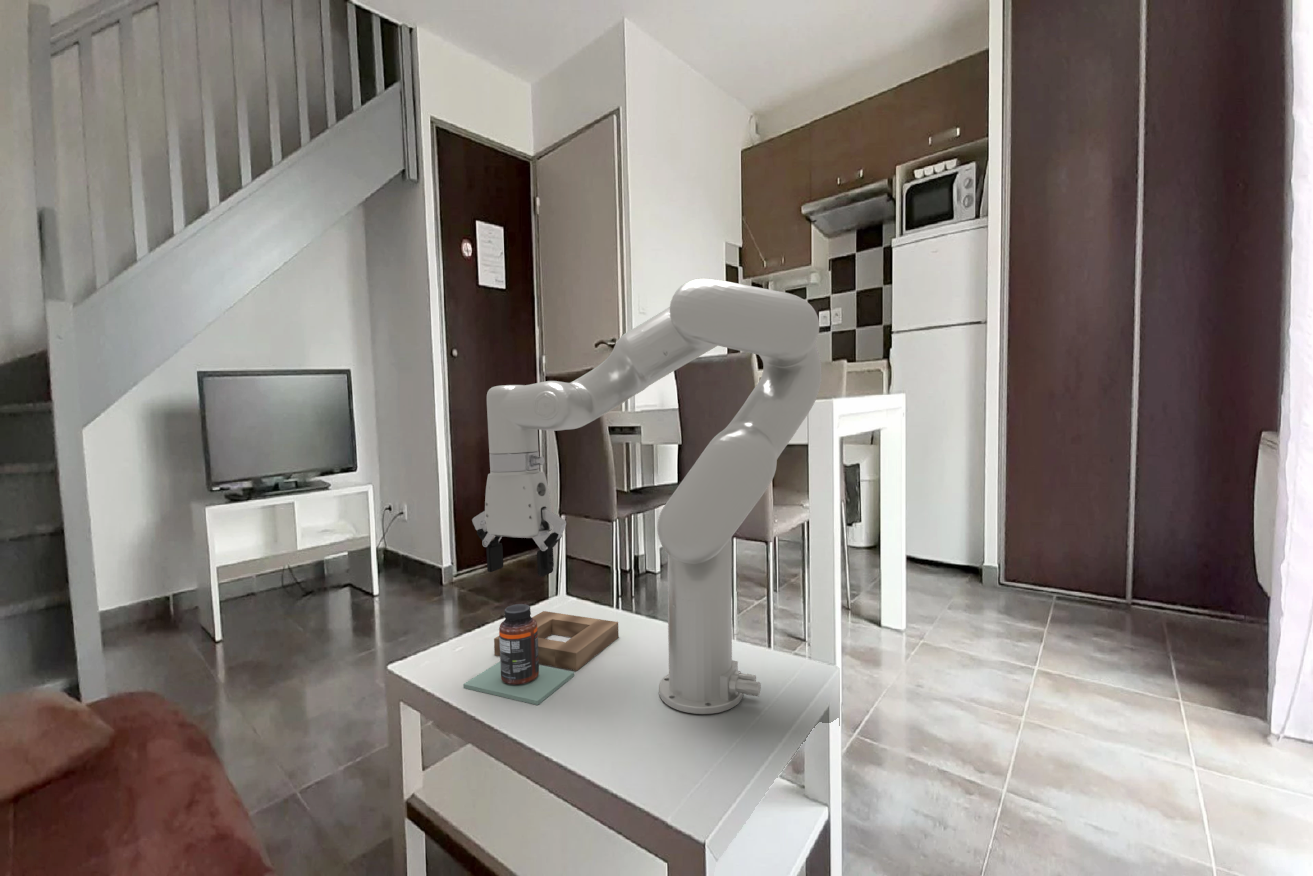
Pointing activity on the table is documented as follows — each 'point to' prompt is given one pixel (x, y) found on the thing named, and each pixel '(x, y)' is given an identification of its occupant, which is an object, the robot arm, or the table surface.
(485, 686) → the sage green mat
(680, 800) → the table surface
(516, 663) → the supplement bottle
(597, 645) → the walnut frame
